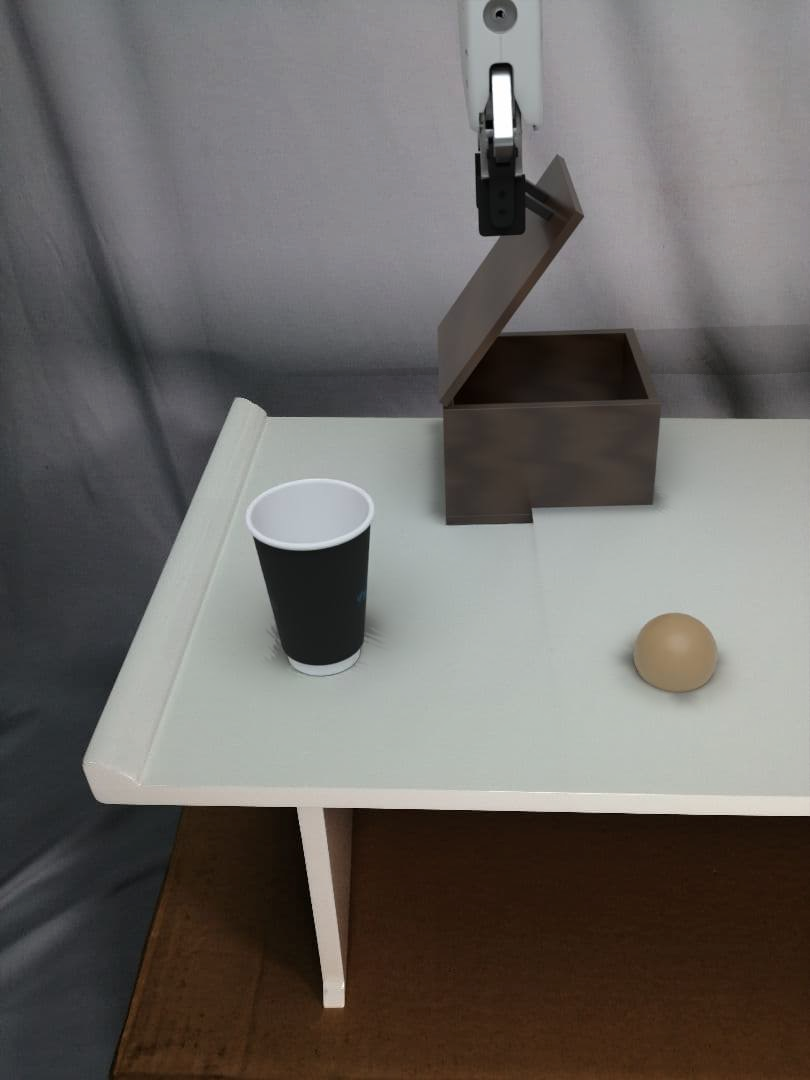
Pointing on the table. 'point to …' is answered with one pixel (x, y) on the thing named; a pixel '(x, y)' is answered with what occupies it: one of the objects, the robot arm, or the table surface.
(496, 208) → the robot arm
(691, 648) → the tan ball
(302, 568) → the dixie cup
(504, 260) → the box lid
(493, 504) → the box
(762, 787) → the table surface
